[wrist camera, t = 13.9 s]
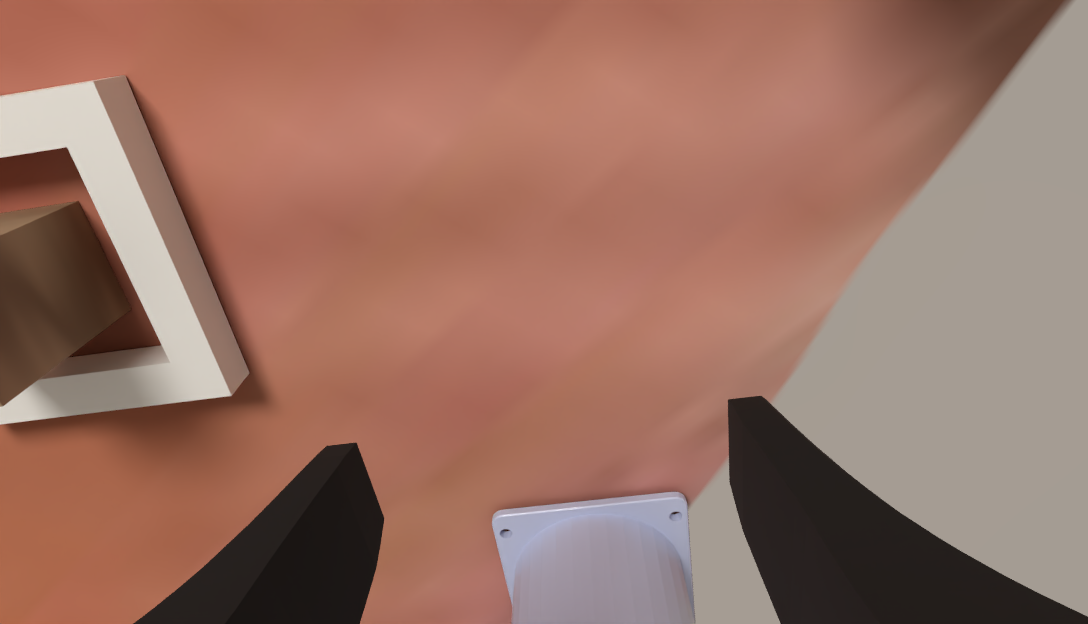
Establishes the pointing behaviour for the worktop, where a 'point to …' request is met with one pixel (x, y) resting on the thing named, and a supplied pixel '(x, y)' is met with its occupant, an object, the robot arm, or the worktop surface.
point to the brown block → (50, 292)
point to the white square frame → (126, 258)
